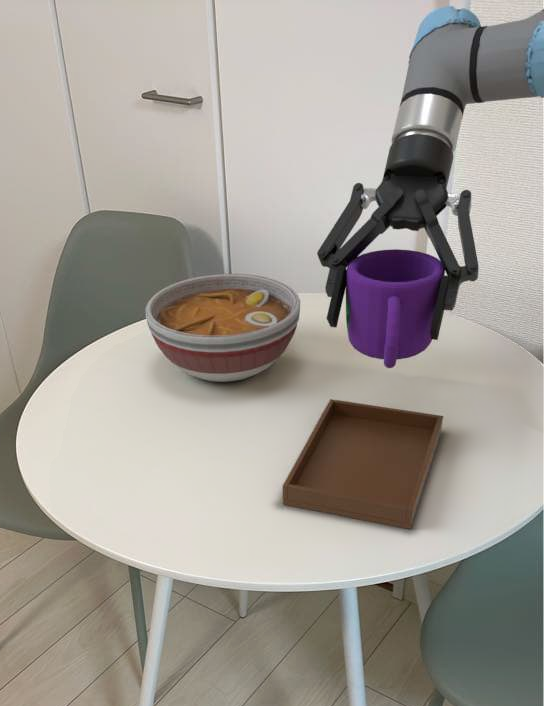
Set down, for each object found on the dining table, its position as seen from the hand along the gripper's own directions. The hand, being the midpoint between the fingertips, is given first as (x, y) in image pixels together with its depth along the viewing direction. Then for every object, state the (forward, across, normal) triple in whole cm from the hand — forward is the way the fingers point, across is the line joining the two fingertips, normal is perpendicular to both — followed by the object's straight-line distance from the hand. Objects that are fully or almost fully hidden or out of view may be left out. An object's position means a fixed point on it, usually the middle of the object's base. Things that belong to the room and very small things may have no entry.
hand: (381, 329), depth 88 cm
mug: (+2, -1, -5) cm, 5 cm away
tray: (+15, 0, -8) cm, 17 cm away
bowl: (+1, +27, -22) cm, 35 cm away
